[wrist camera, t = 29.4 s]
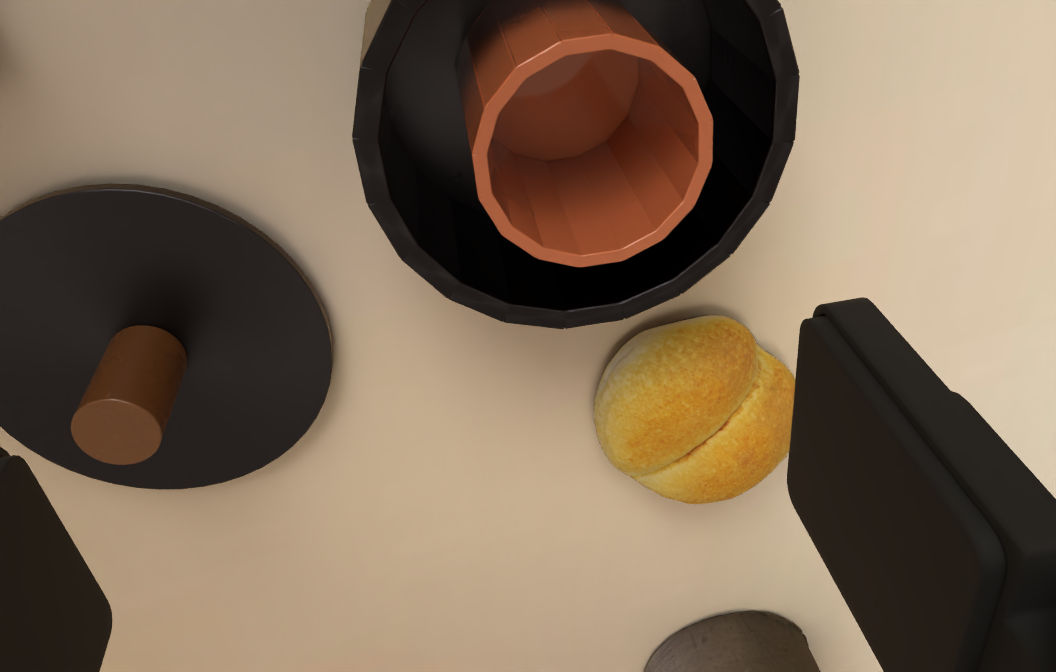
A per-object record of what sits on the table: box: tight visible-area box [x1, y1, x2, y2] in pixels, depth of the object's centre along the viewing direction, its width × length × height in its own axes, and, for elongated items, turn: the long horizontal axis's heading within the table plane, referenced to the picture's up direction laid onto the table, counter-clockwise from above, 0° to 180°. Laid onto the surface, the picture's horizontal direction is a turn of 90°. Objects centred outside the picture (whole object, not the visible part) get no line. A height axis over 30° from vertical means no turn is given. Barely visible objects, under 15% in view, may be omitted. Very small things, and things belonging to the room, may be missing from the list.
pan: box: [352, 0, 799, 329], centre depth 27 cm, size 12×12×6 cm
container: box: [456, 0, 713, 267], centre depth 26 cm, size 6×6×8 cm
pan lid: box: [0, 184, 333, 489], centre depth 31 cm, size 13×13×6 cm
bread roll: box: [594, 315, 795, 504], centre depth 37 cm, size 8×9×4 cm
